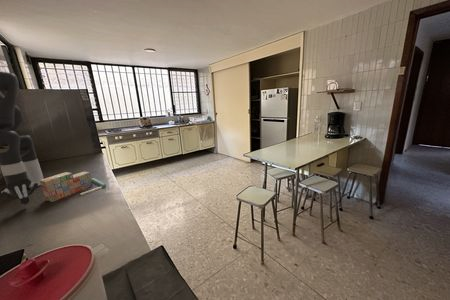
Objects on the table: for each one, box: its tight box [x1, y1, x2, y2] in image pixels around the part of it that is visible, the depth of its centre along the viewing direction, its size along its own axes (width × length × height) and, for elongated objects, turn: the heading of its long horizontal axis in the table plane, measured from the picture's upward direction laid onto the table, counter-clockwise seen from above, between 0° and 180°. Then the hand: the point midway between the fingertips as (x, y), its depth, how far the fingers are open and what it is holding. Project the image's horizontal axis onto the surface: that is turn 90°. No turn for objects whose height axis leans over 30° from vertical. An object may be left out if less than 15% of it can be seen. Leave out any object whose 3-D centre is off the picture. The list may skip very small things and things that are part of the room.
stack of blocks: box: [40, 171, 94, 203], centre depth 108 cm, size 21×6×12 cm, turn 155°
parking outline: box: [79, 177, 107, 196], centre depth 115 cm, size 19×13×2 cm
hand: (25, 203), depth 94 cm, fingers closed
